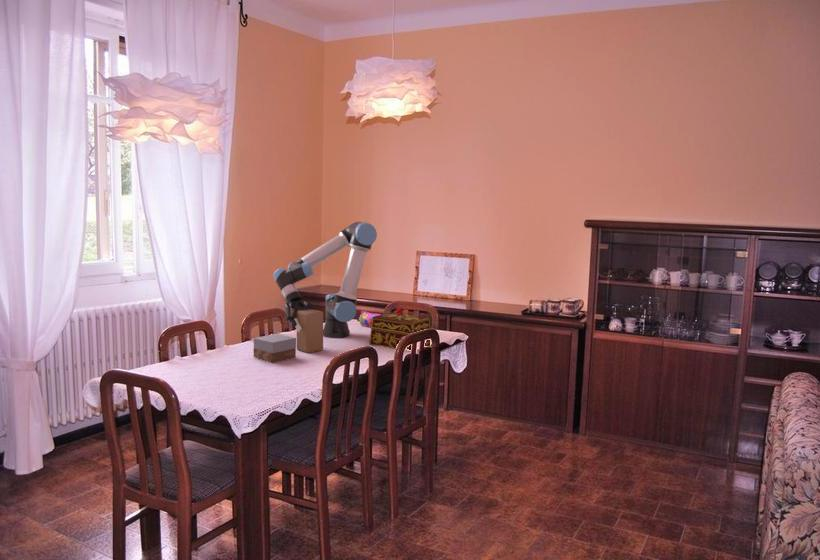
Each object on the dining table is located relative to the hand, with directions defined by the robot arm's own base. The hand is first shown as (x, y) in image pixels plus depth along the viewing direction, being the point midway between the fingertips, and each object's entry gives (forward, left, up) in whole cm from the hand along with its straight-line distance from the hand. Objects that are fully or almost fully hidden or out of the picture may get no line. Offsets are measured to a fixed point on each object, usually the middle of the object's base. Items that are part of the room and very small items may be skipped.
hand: (310, 328), depth 328 cm
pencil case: (-19, +65, -12) cm, 69 cm away
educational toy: (+3, +64, -11) cm, 65 cm away
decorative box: (+22, +43, -12) cm, 49 cm away
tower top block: (-1, -21, -7) cm, 22 cm away
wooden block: (-1, 0, -11) cm, 12 cm away
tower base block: (-1, -21, -12) cm, 24 cm away
